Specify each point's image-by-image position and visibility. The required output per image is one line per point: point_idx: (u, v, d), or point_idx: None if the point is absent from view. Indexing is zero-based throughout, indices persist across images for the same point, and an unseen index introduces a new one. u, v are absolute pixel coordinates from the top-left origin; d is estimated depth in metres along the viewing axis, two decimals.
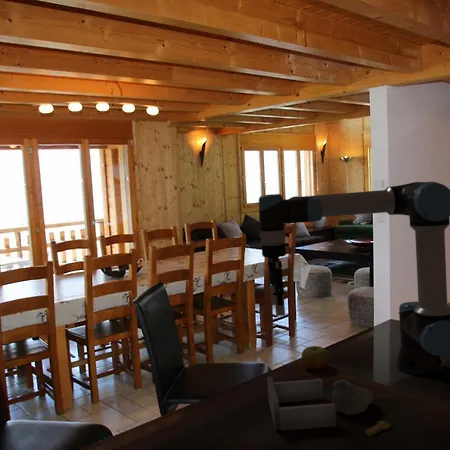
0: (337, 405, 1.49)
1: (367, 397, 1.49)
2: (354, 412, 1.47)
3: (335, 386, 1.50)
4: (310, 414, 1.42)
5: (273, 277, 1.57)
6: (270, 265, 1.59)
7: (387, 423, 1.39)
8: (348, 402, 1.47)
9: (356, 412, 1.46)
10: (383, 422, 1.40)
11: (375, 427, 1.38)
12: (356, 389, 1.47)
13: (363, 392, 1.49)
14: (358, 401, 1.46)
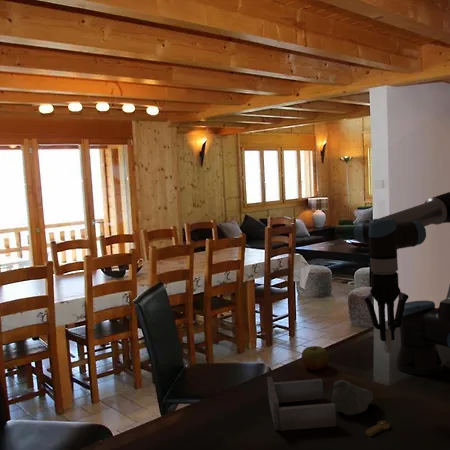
0: (337, 405, 1.49)
1: (367, 397, 1.49)
2: (354, 412, 1.47)
3: (335, 386, 1.50)
4: (310, 414, 1.42)
5: (378, 309, 1.50)
6: None
7: (387, 423, 1.39)
8: (348, 402, 1.47)
9: (356, 412, 1.46)
10: (383, 422, 1.40)
11: (375, 427, 1.38)
12: (356, 389, 1.47)
13: (363, 391, 1.49)
14: (358, 401, 1.46)
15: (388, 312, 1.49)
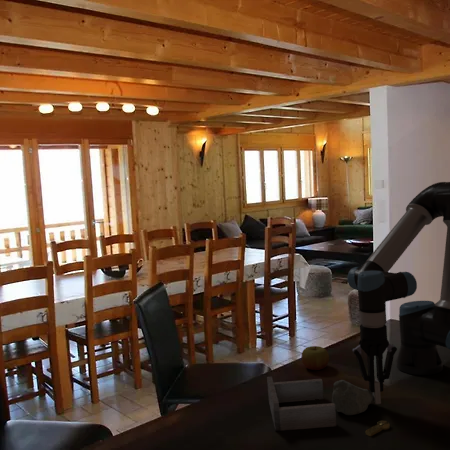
0: (337, 405, 1.49)
1: (367, 397, 1.49)
2: (354, 412, 1.47)
3: (335, 386, 1.50)
4: (310, 414, 1.42)
5: (367, 360, 1.51)
6: None
7: (387, 423, 1.39)
8: (348, 402, 1.47)
9: (356, 412, 1.46)
10: (383, 422, 1.40)
11: (375, 427, 1.38)
12: (356, 389, 1.47)
13: (363, 392, 1.49)
14: (358, 401, 1.46)
15: (377, 363, 1.50)
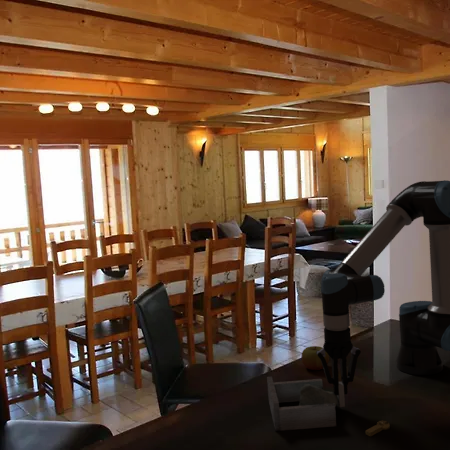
0: None
1: (333, 400, 1.49)
2: None
3: (302, 391, 1.48)
4: (310, 414, 1.42)
5: None
6: None
7: (387, 423, 1.39)
8: None
9: None
10: (383, 422, 1.40)
11: (375, 427, 1.38)
12: (323, 392, 1.46)
13: (330, 394, 1.48)
14: None
15: (341, 366, 1.50)
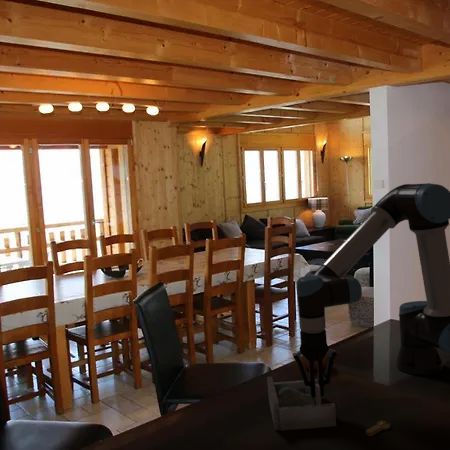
0: None
1: (311, 402, 1.49)
2: None
3: (281, 395, 1.47)
4: (310, 414, 1.42)
5: None
6: None
7: (387, 423, 1.39)
8: None
9: None
10: (383, 422, 1.40)
11: (375, 427, 1.38)
12: (302, 395, 1.46)
13: (308, 397, 1.48)
14: None
15: (317, 368, 1.50)
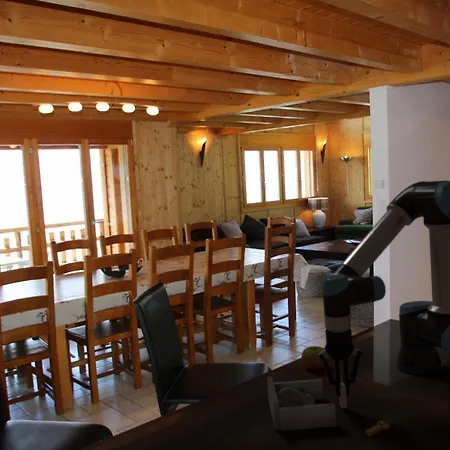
0: None
1: (311, 402, 1.49)
2: None
3: (281, 395, 1.47)
4: (310, 414, 1.42)
5: (333, 364, 1.52)
6: None
7: (387, 423, 1.39)
8: None
9: None
10: (383, 422, 1.40)
11: (375, 427, 1.38)
12: (303, 395, 1.46)
13: (308, 397, 1.48)
14: None
15: (343, 367, 1.50)
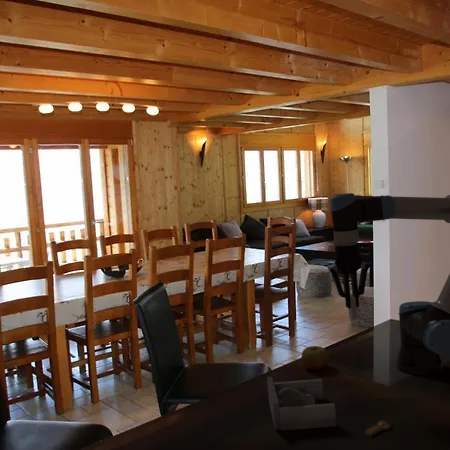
0: None
1: (311, 402, 1.49)
2: None
3: (281, 395, 1.47)
4: (310, 414, 1.42)
5: (343, 279, 1.61)
6: None
7: (387, 423, 1.39)
8: None
9: None
10: (383, 422, 1.40)
11: (375, 427, 1.38)
12: (303, 395, 1.46)
13: (308, 397, 1.48)
14: None
15: (352, 281, 1.59)
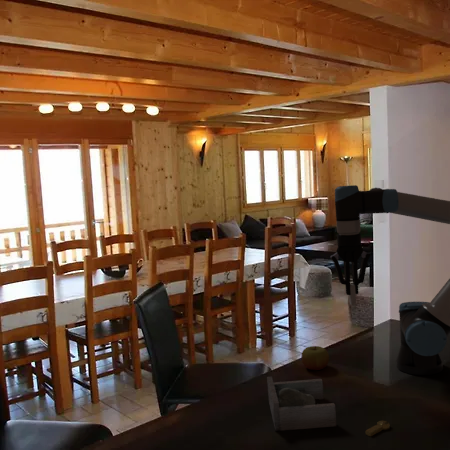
0: None
1: (311, 402, 1.49)
2: None
3: (281, 395, 1.47)
4: (310, 414, 1.42)
5: (344, 267, 1.68)
6: None
7: (387, 423, 1.39)
8: None
9: None
10: (383, 422, 1.40)
11: (375, 427, 1.38)
12: (303, 395, 1.46)
13: (308, 397, 1.48)
14: None
15: (353, 269, 1.67)
